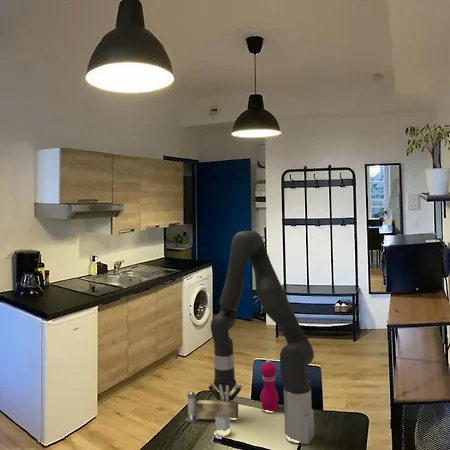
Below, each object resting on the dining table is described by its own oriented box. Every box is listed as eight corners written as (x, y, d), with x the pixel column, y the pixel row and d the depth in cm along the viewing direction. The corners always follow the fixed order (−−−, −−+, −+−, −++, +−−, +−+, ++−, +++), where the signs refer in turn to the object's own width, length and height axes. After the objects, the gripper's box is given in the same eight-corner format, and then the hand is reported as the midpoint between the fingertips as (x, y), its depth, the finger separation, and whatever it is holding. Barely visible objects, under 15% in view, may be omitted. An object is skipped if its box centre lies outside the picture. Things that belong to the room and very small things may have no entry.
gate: (197, 418, 163) (196, 403, 163) (198, 415, 166) (198, 400, 165) (237, 420, 161) (237, 404, 160) (238, 416, 163) (238, 401, 163)
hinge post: (199, 418, 165) (198, 390, 165) (193, 423, 162) (192, 395, 161) (190, 415, 167) (189, 388, 167) (184, 420, 164) (183, 392, 163)
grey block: (230, 432, 155) (230, 414, 154) (225, 437, 151) (225, 419, 151) (221, 429, 157) (220, 411, 156) (215, 434, 153) (215, 416, 153)
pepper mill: (278, 414, 166) (276, 363, 165) (259, 413, 168) (257, 362, 166) (279, 405, 173) (278, 356, 172) (261, 404, 175) (260, 355, 174)
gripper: (243, 362, 166) (244, 406, 167) (209, 360, 169) (211, 404, 170) (240, 370, 159) (241, 416, 160) (204, 368, 161) (206, 413, 162)
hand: (225, 410), depth 165 cm, fingers closed
